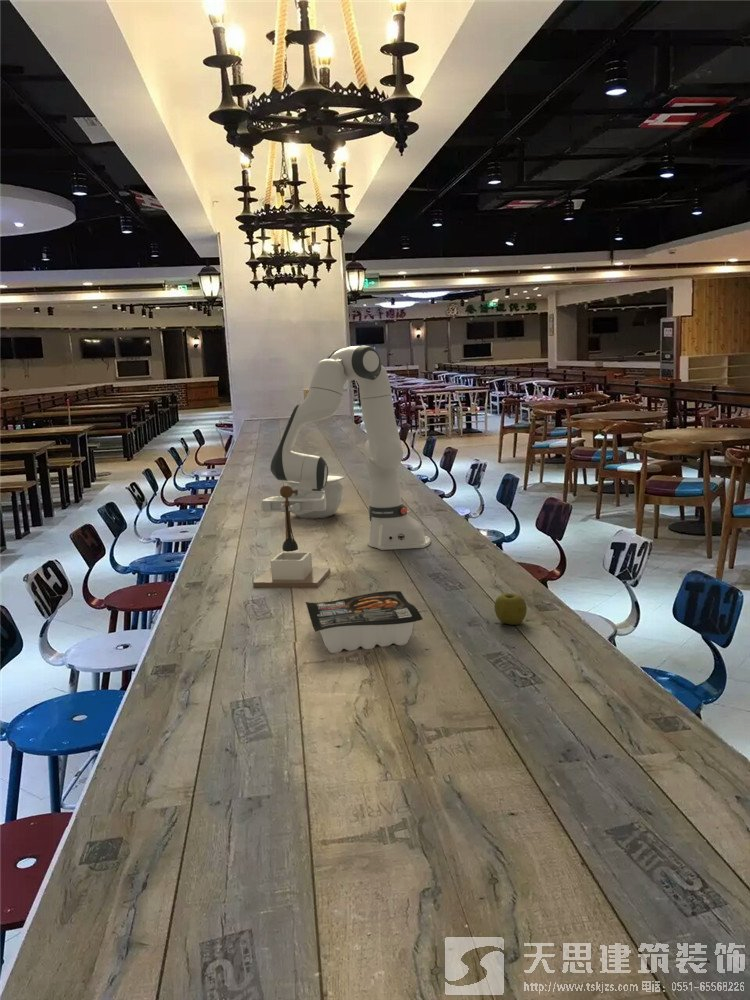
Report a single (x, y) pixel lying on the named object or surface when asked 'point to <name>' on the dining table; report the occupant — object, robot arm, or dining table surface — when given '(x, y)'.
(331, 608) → the food packaging
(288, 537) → the wooden tabletop sculpture
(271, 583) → the utensil holder
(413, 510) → the dining table surface
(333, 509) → the chamber pot
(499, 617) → the apple
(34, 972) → the dining table surface
